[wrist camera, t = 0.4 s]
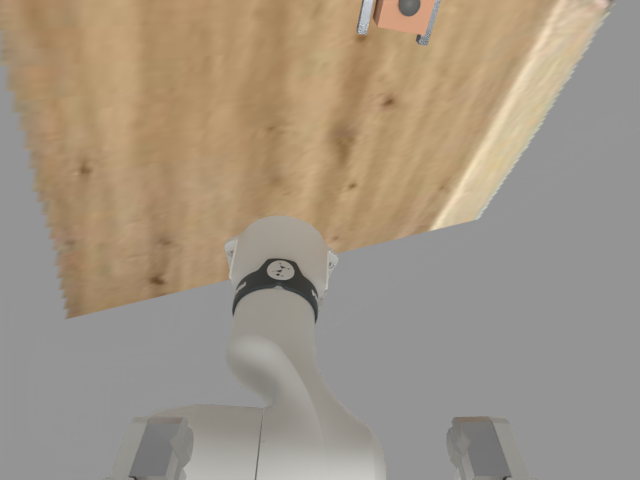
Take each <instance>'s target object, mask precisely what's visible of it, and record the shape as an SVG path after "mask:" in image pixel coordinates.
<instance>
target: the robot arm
mask: <svg viewBox="0 0 640 480" xmlns="http://www.w3.org/2000/svg"><path fill="white" fill-rule="evenodd" d="M224 248H225V252H226V256H227V260H228V264H229V269H230V272H229V279H231V281H232V286H233V289H234V292H235V294H234V297H233V305H232V315H233V321H232V326H231V330H230V335H229V339H228V344H227V349H226V362H227V365H228V368H229V370H230V372H231V374H232V375H233V376H234V378H235V379H236V380H237V381H238V382H239V384H240V385H242V386H243V387H244V388H245V389H247V390H249V391H250V392H252V393H253V394H255V395H257V396H258V397H260V398H261V399H262V400H263V401H264V402H265V403H266V404H267V406H268V407H265V409H264V408H258V407H243V406H228V405H214V404H195V405H186V406H178V407H172V408H166V409H160V410H156V411H154V412H153V413H152V414H150V415H149V416H148V417H134V419H133V420H132V422H131V423H130V425H129V427H128V430H127V433H126V435H125V438H124V440H123V443H122V446H121V448H120V451H119V453H118V456H117V459H116V461H115V464H114V466H113V469H112V472H111V474H110V477H104V478H103V479H102V480H387V472H386V463H385V458H384V454H383V451H382V448H381V446H380V443H379V441H378V440H377V438H376V436H375V434H374V433H373V431H372V430H371V429H370V428H369V426H368V425H367V424H366V423H365V422H363V421H362V420H360V419H359V418H357V417H356V416H355V415H354V414H352V413H351V412H350V411H349V410H348V409H347V408H346V407H344V406H343V405H342V403H341V402H340V401H339V400H338V399H337V398H336V397H335V395H334V394H333V393H332V391H331V390H330V388H329V387H328V385H327V384H326V382H325V380H324V378H323V376H322V374H321V371H320V369H319V366H318V362H317V356H316V346H315V324H316V321H317V318H318V312H319V310H321V308H322V305H323V298H325V297H326V293H327V288H328V279H329V277H330V275H331V274H332V272H333V270H334V268H335V266H336V264H337V262H338V258H339V255H338V253H337V252H336V251H335V250H334V249H332V248H331V247H329V246H328V245H327V244H326V243H325V241H324V239H323V238H322V236H321V234H320V233H319V232H318V231H317V230H316V229H315V228H314V227H313V226H312V225H310V224H309V223H307V222H305V221H303V220H300V219H298V218H294V217H290V216H270V217H265V218H262V219H259V220H257V221H255V222H253V223H252V224H250V225H249V226H248V227H247V228H246V229H245V230H244V231H243V232H242V233H240V234H239V235H236V236H233V237H231V238H229V239H227V240H226V241H225V246H224ZM233 251H234V252H233ZM329 262H330V263H329ZM263 409H264V416H263ZM262 421H263V424H262ZM452 426H453V427H451V428H449V429H448V432H447V437H446V444H447V451H448V455H449V460H450V461H451V462H452V463H453V464H454V466H455V467H456V471H455V474H454V480H538V479H537V478H536V477H530V474H529V472H528V469H527V466H526V464H525V461H524V459H523V456H522V454H521V451H520V449H519V446H518V443H517V441H516V438H515V436H514V433H513V430H512V428H511V425H510V423H509V421H508V420H507V419H506V418H505V417H504V416H480V417H479V416H478V417H454V418H453V420H452ZM261 431H262V433H261Z"/></svg>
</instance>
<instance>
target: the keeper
mask: <svg viewBox="0 0 640 480" xmlns="http://www.w3.org/2000/svg"><path fill="white" fill-rule="evenodd" d="M434 3H435V0H376V4H375V9H374V13H373V20H374V21H375V23H376V25H377V27H380V28H386V29H391V30H397V31H402V32H408V33H413V34H419V35H424V36H425V33H426V30H427V27H428V23H429V20H430V17H431V13H432V10H433V6H434Z"/></svg>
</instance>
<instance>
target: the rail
mask: <svg viewBox="0 0 640 480" xmlns="http://www.w3.org/2000/svg"><path fill="white" fill-rule="evenodd" d="M373 2H374V0H362V4H361V9H360V14H359V19H358V25H357V33H358V34H363V35H367V30H368V25H369V21H370V16H371V11H372V7H373ZM440 2H441V0H435V3H434V6H433V10H432V13H431V17H430V20H429V23H428V27H427V30H426V33H425V36H424V35H419V34H417V38H416V42H417V43H418V44H419V45H424V46H427V45H428V42H429V38H430V35H431V32H432V29H433V25H434V22H435V19H436V16H437V12H438V9H439V6H440Z"/></svg>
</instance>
